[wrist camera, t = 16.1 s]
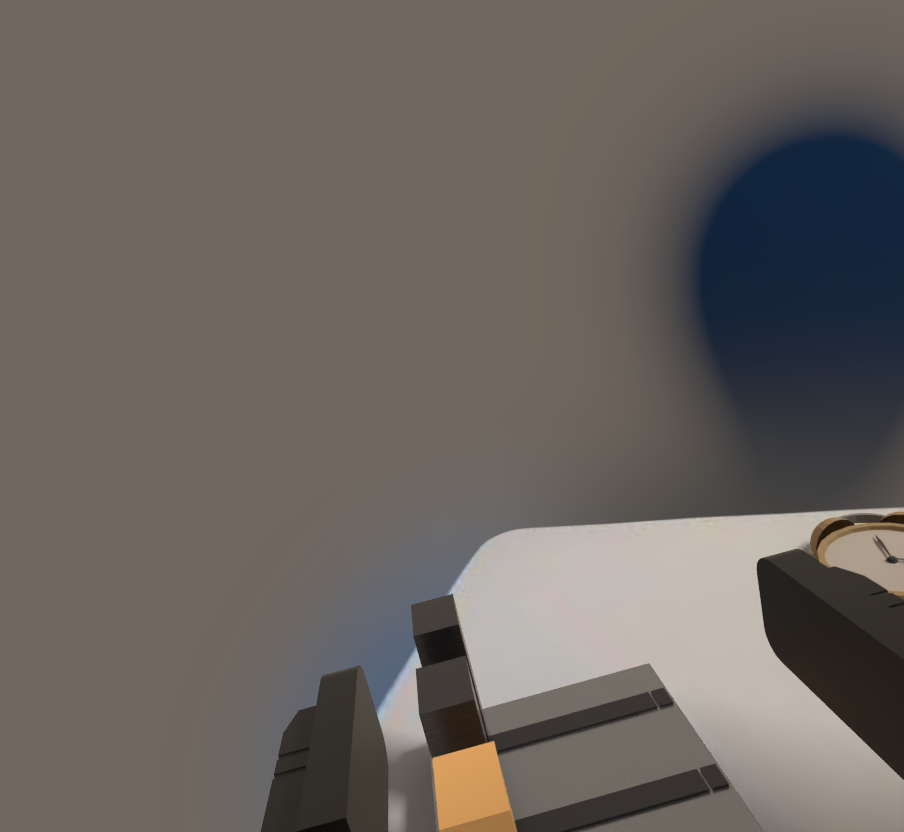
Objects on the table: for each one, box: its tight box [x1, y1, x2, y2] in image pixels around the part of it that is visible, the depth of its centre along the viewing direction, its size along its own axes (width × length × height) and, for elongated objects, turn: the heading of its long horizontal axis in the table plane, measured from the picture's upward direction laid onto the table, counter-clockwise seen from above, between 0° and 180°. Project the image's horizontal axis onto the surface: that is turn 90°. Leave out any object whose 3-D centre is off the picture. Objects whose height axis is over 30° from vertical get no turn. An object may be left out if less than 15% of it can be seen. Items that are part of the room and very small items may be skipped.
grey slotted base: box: [411, 594, 764, 832], centre depth 37 cm, size 18×23×14 cm
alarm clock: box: [810, 512, 904, 600], centre depth 57 cm, size 11×5×15 cm
